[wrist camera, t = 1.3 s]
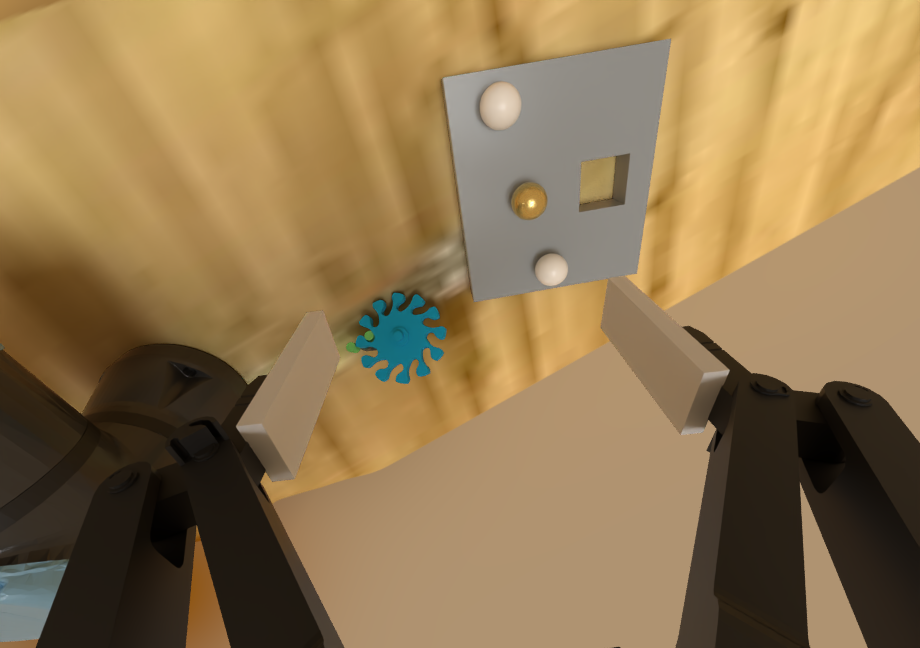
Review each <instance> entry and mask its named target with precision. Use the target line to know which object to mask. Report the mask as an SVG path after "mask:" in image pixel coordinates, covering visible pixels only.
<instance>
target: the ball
mask: <svg viewBox="0 0 920 648" xmlns="http://www.w3.org/2000/svg"><path fill="white" fill-rule="evenodd" d="M547 203H548V197H547V193H546V191H545V189H544V188H543V187H542V186H541V185H539V184H537V183H534V182H527V183H524V184H522V185H520V186H519V187H518V188H517V189H516V190H515V191H514V193H513V195H512V198H511V207H512V210H513V212H514V213H515V215H516V216H517V217H519V218H520V219H523V220H534V219H536V218H538V217H539V216H541V215H542V214H543V212H544V211H545V209H546V207H547Z"/></svg>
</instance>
